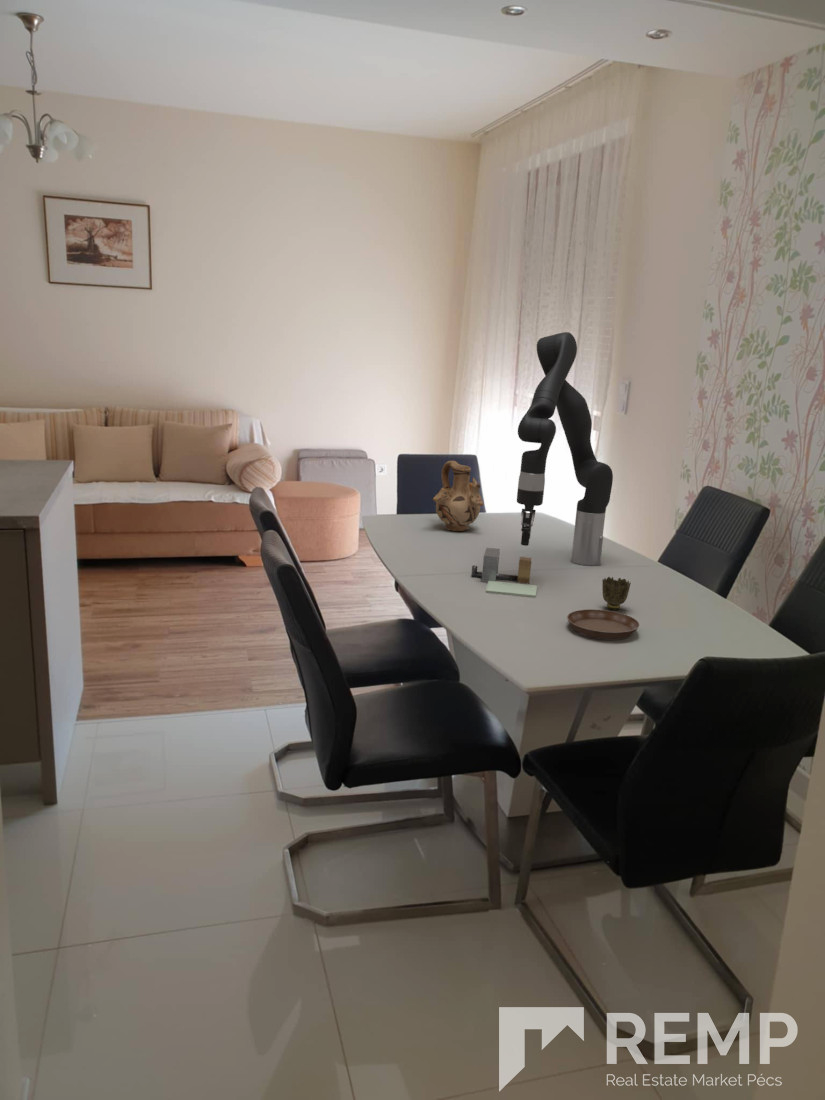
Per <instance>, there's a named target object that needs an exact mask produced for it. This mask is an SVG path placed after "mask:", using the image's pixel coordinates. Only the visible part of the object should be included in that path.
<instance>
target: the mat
mask: <svg viewBox="0 0 825 1100" xmlns="http://www.w3.org/2000/svg"><path fill="white" fill-rule="evenodd" d="M537 587H538V586H537V585H533V584H527V583H517V582H505V581H497V580H496V581H488V583H487V585H486V587H485V588H486V589H485V593H489V594H496V595H497V594H498V595H499V594H500V595H507V596H515V597H517V596H518V597H527V598H535V597H536V598H537Z"/></svg>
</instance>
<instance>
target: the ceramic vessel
mask: <svg viewBox="0 0 825 1100" xmlns="http://www.w3.org/2000/svg"><path fill="white" fill-rule="evenodd" d="M450 471H452V473H453V482H452V486H451V485H450V478H449V475H450V474H449V473H450ZM471 471H472V468H471V466H469V465H464V464H460V463H458V462H457V461H455V460H448V461H446V462H445V463H444V464H443V466H442V468H441V483H442V487H441V488H440V490H439V492H438V493H436V494H435V496H434V497H433V498H432V501H433V502H435V512H436V514H437V517H438V518H439V519H440V520H441V521H442V522H444V524H445V526H446V527H445V529H446V528H447V529H449V530H448V531H450V530H453V531H452V532H462V531H463V532H464V531H468V530H469V526H470V524H473V523H474V522H475V521H476V520H477V518H478V517H479V514H480V512H481V507H483V506H484V505H485V504H484V501H483V500H482V496H481V494H480V488H481V484H480V483H479V482H477V481H476V479H475V477H474V476H473V477H472V482H470V480H471V479H470V478H471ZM447 529H446V530H447Z"/></svg>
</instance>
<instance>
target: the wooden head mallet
mask: <svg viewBox="0 0 825 1100" xmlns="http://www.w3.org/2000/svg"><path fill="white" fill-rule="evenodd" d="M518 560H519V561H518V572H517V575H515V574H505V573H498V574H497V575H496V580H505V581H513V582H516V583H517V582H520V583H519V584H527V583H528V584H527V585H530V579H531V569H532V560H533V558H532V557H528V556H527V557H526V556H519V559H518ZM482 572H483V571H478V566H477V565H472V566H471V575H470V576H471V578H482Z"/></svg>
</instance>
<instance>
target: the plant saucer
mask: <svg viewBox="0 0 825 1100" xmlns="http://www.w3.org/2000/svg"><path fill="white" fill-rule="evenodd" d="M566 618H567V621H568V623H569V625H570V626H571V627H572V629H573V630H574V631H575V632H576V633H578V634H580V635H582V636H585V637H588V638H591V639H597V640H605V641H617V640H623V639H626V638H629V637H630V636H631V635H633V634H634V633H635V632H637V630H638V629H639V627H640V623H639V622H638V620H637V619H635V618H634V617H632V616H630V615H627V614H624V613H621V612H617V611H614V610H607V609H594V608H593V609H589V608H588V609H579V610H574V611H572V612H570V613H568V615H567V616H566Z"/></svg>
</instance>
